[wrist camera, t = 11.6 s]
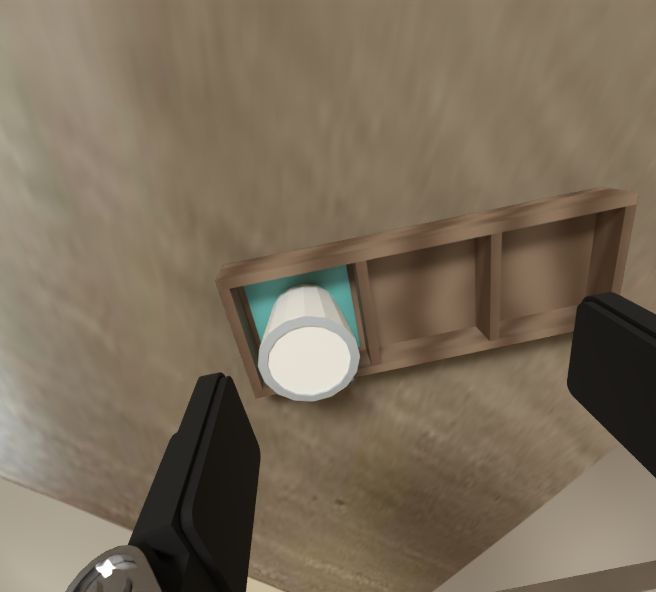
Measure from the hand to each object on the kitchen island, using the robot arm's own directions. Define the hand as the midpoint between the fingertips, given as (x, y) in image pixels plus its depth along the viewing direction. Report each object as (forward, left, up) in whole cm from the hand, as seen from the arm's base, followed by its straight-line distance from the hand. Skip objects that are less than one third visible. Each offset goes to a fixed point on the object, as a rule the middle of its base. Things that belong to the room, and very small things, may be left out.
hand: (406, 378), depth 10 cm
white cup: (+4, +7, -19) cm, 21 cm away
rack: (-6, +7, -20) cm, 23 cm away
